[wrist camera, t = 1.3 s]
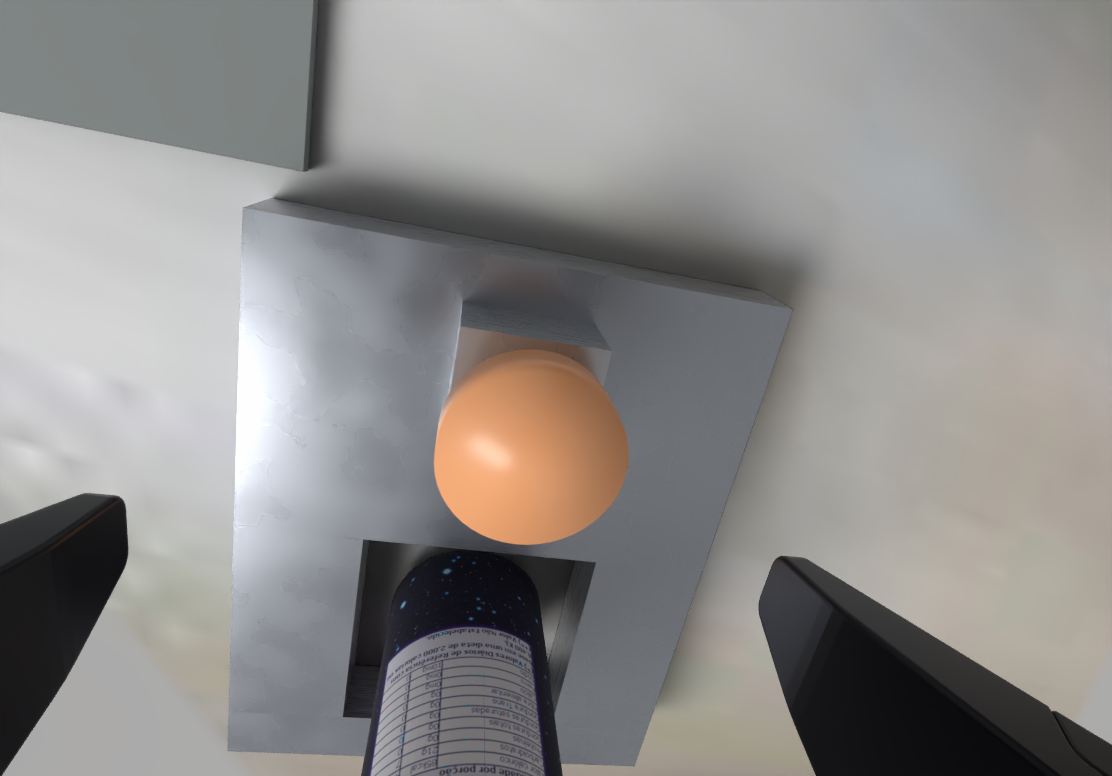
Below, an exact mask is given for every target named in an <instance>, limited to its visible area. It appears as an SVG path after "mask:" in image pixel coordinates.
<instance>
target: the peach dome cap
mask: <svg viewBox="0 0 1112 776" xmlns="http://www.w3.org/2000/svg"><path fill="white" fill-rule="evenodd" d="M628 461H629V448H628V440H627V436H626V432H625V429H624V426H623V424H622V422H621V419H620V417H619V415H618V413H617V411H616V409H615V407H614V405H613V403H612V401H611V399H610V397H609V395H608V393H607V392H606V390H605V388H604V387H603V385H602V384H601V383H600V381H599V380H598V379H597V378H596V376H595V375H593V374H592V373H591V372H590V371H589V370H588V369H587V368H585V367H584V366H583V365H581V364H580V363H578V362H576V361H575V360H573V359H571V358H569V357H566V356H564V355H561V354H558V353H554V352H550V351H545V350H534V349H530V350H516V351H510V352H506V353H502V354H499V355H496V356H494V357H491V358H489V359H487V360H485V361H483V362H481V363H479V364H478V365H476V366H475V367H473V368H472V369H471V370H469V371H468V372H467V373H466V374H465V375H464V376H463V377H462V378H461V379H460V380H459V381H458V382H457V383H456V384H455V386H454V387H453V388H452V390H451V391H450V393H449V394H448V396H447V398H446V400H445V402H444V404H443V407H442V410H441V413H440V417H439V422H438V429H437V437H436V445H435V454H434V472H435V478H436V482H437V486H438V488H439V491H440V493H441V496H442V498H443V499H444V501H445V503H446V505H447V506H448V507H449V509H450V510H451V511H452V512H453V514H454V515H455V516H456V517H457V518H458V519H459V520H460V521H461V522H462V523H464V524H465V525H467V526H468V527H469V528H471V529H472V530H474V531H476V532H477V533H479V534H481V535H483V536H486V537H488V538H491V539H493V540H497V541H501V542H505V543H511V544H521V545H532V544H543V543H548V542H553V541H557V540H560V539H563V538H566V537H568V536H571V535H573V534H575V533H577V532H579V531H581V530H583V529H584V528H586V527H587V526H589V525H590V524H592V523H593V522H594V521H596V520H597V519H598V518H599V517H600V516H601V515H602V514H603V513H604V512H605V511H606V510H607V509H608V508H609V507H610V505H611V504H612V503H613V501H614V500H615V498H616V497H617V495H618V493H619V491H620V489H621V487H622V485H623V482H624V479H625V477H626V473H627V468H628Z"/></svg>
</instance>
